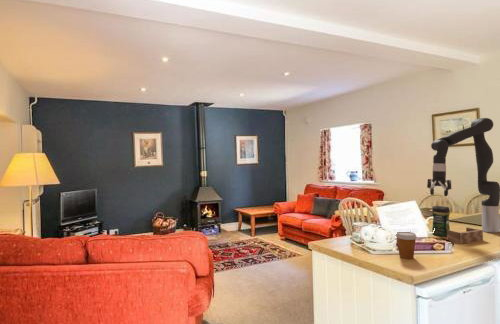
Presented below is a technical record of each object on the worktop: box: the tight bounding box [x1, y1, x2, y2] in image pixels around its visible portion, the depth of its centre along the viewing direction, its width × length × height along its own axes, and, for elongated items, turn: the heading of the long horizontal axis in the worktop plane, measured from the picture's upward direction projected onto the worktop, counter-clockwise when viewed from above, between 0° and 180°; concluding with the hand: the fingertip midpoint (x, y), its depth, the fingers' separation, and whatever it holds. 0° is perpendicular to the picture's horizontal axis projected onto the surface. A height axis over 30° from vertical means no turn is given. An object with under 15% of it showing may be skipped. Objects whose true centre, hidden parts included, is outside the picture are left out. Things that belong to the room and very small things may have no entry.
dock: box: [446, 227, 484, 245], centre depth 192 cm, size 19×9×6 cm, turn 112°
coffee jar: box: [431, 205, 451, 237], centre depth 206 cm, size 10×8×19 cm
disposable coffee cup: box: [395, 231, 418, 260], centre depth 162 cm, size 10×10×12 cm
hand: (438, 195), depth 210 cm, fingers open, 8 cm apart
